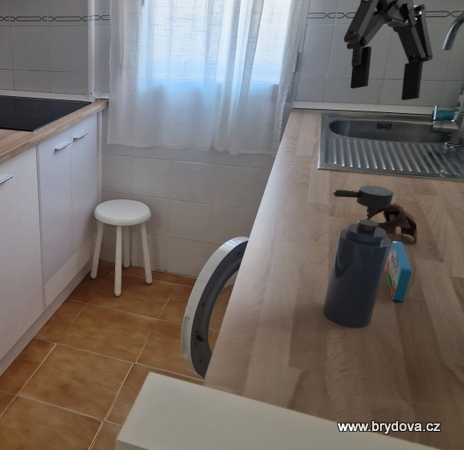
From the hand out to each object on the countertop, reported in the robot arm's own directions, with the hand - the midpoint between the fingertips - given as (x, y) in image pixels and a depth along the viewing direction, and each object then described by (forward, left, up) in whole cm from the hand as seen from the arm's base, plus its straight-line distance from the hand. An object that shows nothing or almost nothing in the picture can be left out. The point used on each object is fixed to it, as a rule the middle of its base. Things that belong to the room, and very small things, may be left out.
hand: (385, 93), depth 95 cm
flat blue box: (-4, +11, -32) cm, 34 cm away
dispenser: (+7, +23, -32) cm, 40 cm away
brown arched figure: (-12, -11, -32) cm, 36 cm away
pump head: (+9, +23, -14) cm, 28 cm away
